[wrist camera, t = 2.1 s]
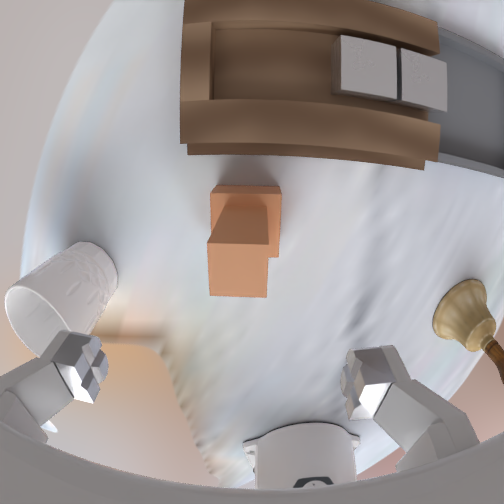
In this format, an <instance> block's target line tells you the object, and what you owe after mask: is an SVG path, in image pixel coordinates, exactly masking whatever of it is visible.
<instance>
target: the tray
mask: <svg viewBox="0 0 504 504" xmlns="http://www.w3.org/2000/svg"><path fill="white" fill-rule="evenodd" d="M438 35H439V46H440V54H437V55H434V56H431V57H432V58H435V59H437V60H440V61H443V62H446V63H447V112H428V122H432V123H436V124H440V125H441V127H440V142H439V154H438V162H441V163H445V164H450V165H454V166H459V167H463V168H467V169H471V170H475V171H479V172H483V173H487V174H491V175H494V176H498V177H501V178H504V59H503V58H502V57H500V56H498V55H496V54H495V53H493V52H491V51H489V50H487V49H485V48H484V47H482V46H480V45H478V44H476V43H474V42H472V41H470V40H468V39H466V38H463V37H461V36H459V35H457V34H455V33H452V32H450V31H448V30H445V29H443V28H440V27H438Z"/></svg>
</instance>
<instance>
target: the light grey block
mask: <svg viewBox="0 0 504 504" xmlns="http://www.w3.org/2000/svg"><path fill="white" fill-rule="evenodd" d="M331 94H335V95H343V96H350V97H357V98H363V99H369V100H375V101H380V102H381V101H387V100H393V99H397V59H396V47H395V46H392V45H388V44H384V43H379V42H375V41H370V40H366V39H361V38H356V37H350V36H344V35H340V36H339V37H338V39H337V40H336V41H335V42H334V43H333V44H332V45H331Z"/></svg>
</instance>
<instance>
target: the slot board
mask: <svg viewBox="0 0 504 504" xmlns="http://www.w3.org/2000/svg"><path fill="white" fill-rule="evenodd" d="M340 35H344V36H350V37H356V38H361V39H366V40H370V41H375V42H379V43H384V44H388V45H392V46H395V47H396V50H398V49H400V48H403V49H406V50H410V51H413V52H416V53H420V54H423V55H426V56H429V57H431V56H434V55H437V54H440V46H439V35H438V26H437V22H436V21H433V20H430V19H428V18H425V17H422V16H419V15H417V14H414V13H411V12H408V11H404V10H401V9H398V8H395V7H391V6H388V5H384V4H380V3H376V2H372V1H368V0H185V2H184V15H183V30H182V48H181V75H180V144H187V153H188V155H222V154H235V155H279V156H299V157H315V158H328V159H339V160H350V161H359V162H368V163H377V164H384V165H392V166H399V167H406V168H412V169H418V170H424V166H425V160H428V161H433V162H438V154H439V142H440V127H441V125H440V124H436V123H432V122H428V112H425V111H421V110H417V109H413V108H409V107H405V106H400V105H395V104H391V103H386V102H385V101H381V102H380V101H375V100H369V99H363V98H357V97H350V96H343V95H335V94H331V45H332V44H333V43H334V42H335V41H336V40H337V39H338V37H339V36H340Z"/></svg>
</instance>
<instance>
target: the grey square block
mask: <svg viewBox="0 0 504 504" xmlns="http://www.w3.org/2000/svg"><path fill="white" fill-rule="evenodd" d="M396 59H397V99H393V100H387V101H385V102H386V103H391V104H395V105H400V106H405V107H409V108H413V109H417V110H421V111H425V112H447V63H446V62H443V61H440V60H437V59H435V58H432V57H429V56H426V55H423V54H420V53H416V52H413V51H410V50H406V49H403V48H400V49H398V50H396Z"/></svg>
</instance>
